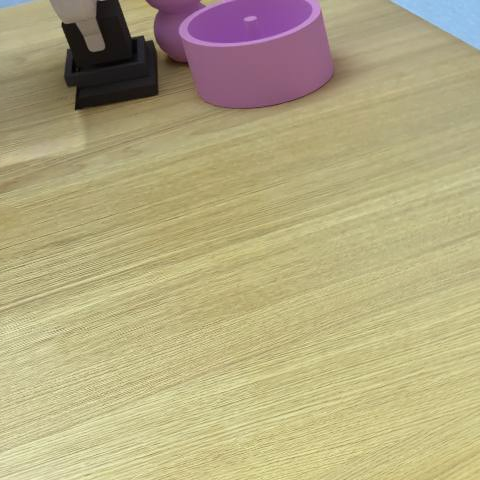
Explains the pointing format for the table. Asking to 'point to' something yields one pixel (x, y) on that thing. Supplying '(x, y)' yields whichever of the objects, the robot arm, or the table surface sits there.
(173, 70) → the table surface
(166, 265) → the table surface
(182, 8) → the container set
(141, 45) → the base pad
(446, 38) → the table surface
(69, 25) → the black rectangular block
